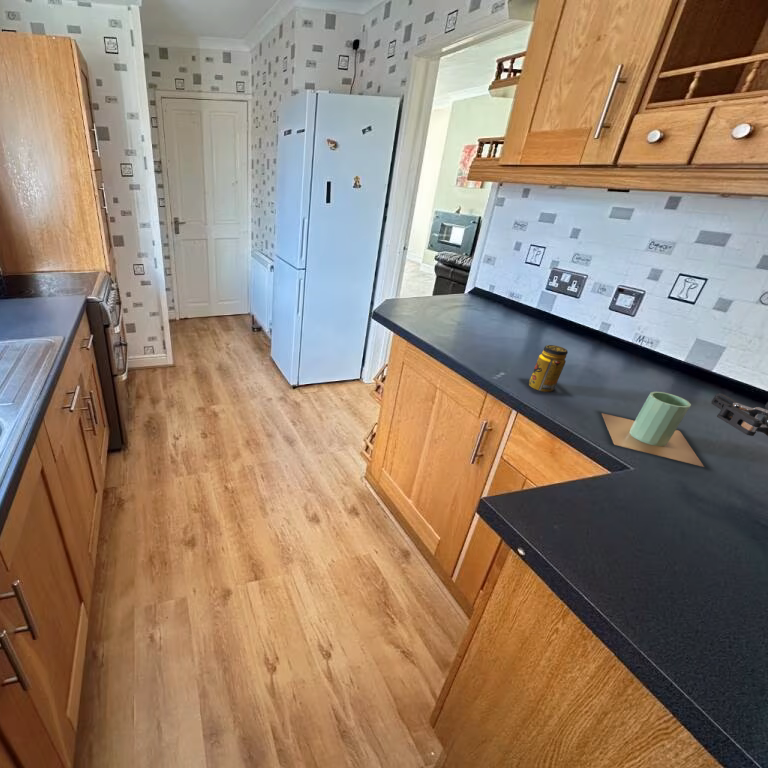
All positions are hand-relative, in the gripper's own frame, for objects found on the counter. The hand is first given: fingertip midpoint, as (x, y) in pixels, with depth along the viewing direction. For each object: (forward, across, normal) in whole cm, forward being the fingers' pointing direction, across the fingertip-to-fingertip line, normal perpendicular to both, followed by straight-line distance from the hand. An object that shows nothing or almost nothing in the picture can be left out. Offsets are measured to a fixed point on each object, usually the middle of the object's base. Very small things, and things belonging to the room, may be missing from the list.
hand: (742, 400), depth 74 cm
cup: (+13, 0, +17) cm, 21 cm away
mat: (+13, 0, +18) cm, 22 cm away
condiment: (+34, +12, +18) cm, 41 cm away
